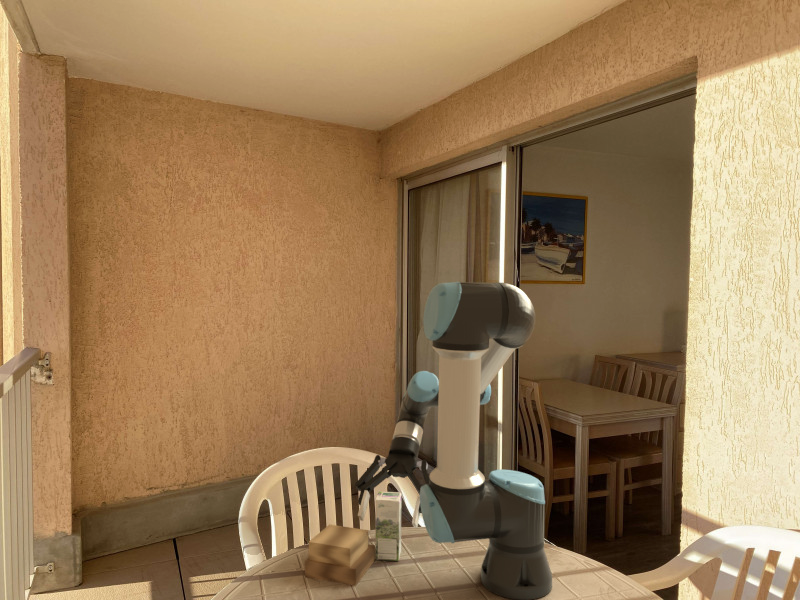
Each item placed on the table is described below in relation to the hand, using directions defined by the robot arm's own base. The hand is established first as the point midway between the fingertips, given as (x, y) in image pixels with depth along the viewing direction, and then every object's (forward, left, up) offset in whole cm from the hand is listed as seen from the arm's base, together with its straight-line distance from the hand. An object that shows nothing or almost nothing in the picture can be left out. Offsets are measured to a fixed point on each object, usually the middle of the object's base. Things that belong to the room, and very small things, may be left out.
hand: (387, 521), depth 135 cm
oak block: (+4, +12, -5) cm, 13 cm away
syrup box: (0, 0, -8) cm, 8 cm away
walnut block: (+4, +12, -9) cm, 15 cm away
